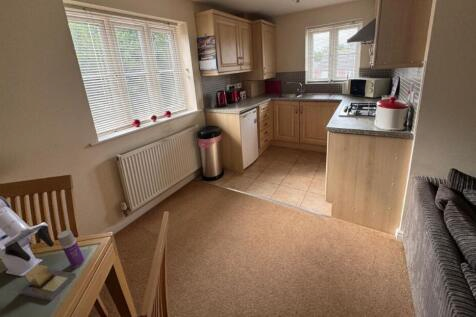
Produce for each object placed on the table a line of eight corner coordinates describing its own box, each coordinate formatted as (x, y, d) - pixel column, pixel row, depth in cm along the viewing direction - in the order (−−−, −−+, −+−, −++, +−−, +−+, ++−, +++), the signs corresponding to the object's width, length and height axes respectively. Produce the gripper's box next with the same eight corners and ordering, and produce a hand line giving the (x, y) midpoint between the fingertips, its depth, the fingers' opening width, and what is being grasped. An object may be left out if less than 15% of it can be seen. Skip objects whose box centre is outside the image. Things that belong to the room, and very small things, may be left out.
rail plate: (20, 294, 84) (18, 290, 83) (47, 271, 93) (45, 267, 92) (51, 301, 80) (49, 297, 80) (76, 276, 89) (74, 273, 89)
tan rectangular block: (33, 288, 86) (24, 274, 83) (45, 277, 90) (37, 264, 87) (42, 290, 85) (34, 276, 82) (54, 279, 89) (46, 266, 86)
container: (78, 268, 93) (64, 238, 87) (68, 267, 94) (53, 237, 88) (87, 259, 97) (74, 230, 91) (78, 258, 98) (64, 229, 92)
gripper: (-11, 231, 75) (20, 260, 74) (38, 209, 88) (64, 233, 88) (-14, 243, 78) (15, 271, 77) (33, 220, 91) (59, 243, 91)
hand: (41, 252), depth 83 cm, fingers open, 7 cm apart
